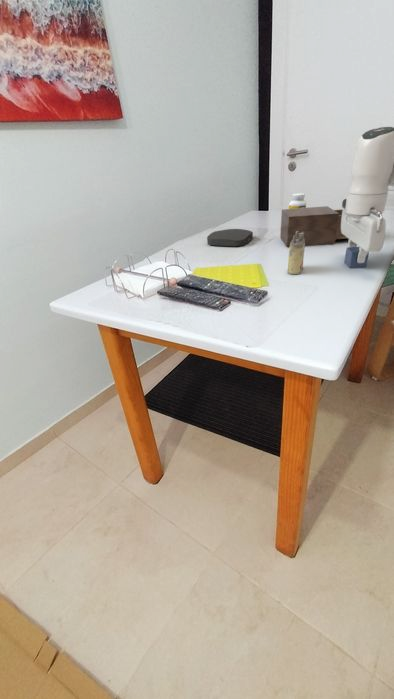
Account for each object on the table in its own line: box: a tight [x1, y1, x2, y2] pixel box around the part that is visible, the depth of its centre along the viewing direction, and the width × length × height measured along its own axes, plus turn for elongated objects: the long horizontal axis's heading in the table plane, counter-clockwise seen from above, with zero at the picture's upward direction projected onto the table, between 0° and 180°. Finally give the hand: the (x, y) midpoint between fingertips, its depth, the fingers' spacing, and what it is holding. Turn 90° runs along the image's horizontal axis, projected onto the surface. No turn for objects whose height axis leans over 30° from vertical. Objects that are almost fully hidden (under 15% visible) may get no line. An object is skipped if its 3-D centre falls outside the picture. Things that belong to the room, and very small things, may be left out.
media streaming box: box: [206, 228, 254, 247], centre depth 122 cm, size 15×15×3 cm
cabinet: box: [279, 205, 339, 248], centre depth 114 cm, size 16×13×10 cm
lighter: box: [286, 231, 306, 275], centre depth 90 cm, size 7×4×10 cm, turn 157°
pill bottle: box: [288, 192, 307, 209], centre depth 133 cm, size 6×6×12 cm
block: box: [343, 246, 370, 269], centre depth 92 cm, size 4×4×4 cm
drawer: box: [333, 208, 348, 240], centre depth 113 cm, size 19×11×8 cm, turn 88°
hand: (355, 258), depth 92 cm, fingers closed on block, 4 cm apart
